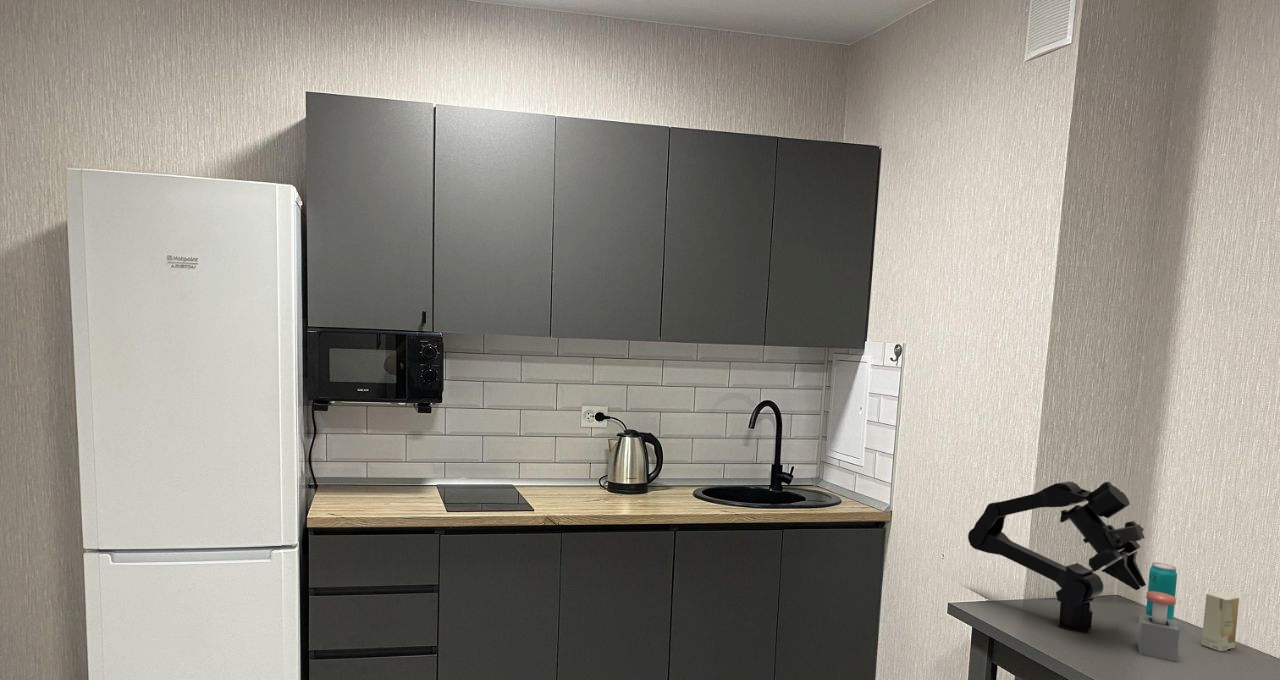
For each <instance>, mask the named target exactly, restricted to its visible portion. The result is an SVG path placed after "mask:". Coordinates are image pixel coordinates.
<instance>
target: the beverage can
mask: <svg viewBox="0 0 1280 680" xmlns="http://www.w3.org/2000/svg"><path fill="white" fill-rule="evenodd" d="M1177 579H1178V573H1177V567H1176V566H1174V565H1173V564H1172V565H1171V564H1168V563H1162V562H1151V566H1150V568H1149V572H1148V583H1147V585H1148V586H1147V592H1148V591H1156V592H1162V593H1166V594H1169V595H1172V596H1174V597H1175V598H1176V593H1177V592H1176V589H1177V583H1178V582H1177V581H1178V580H1177ZM1145 605H1146V607H1145V615H1149V616H1152V610H1153V602H1152V601H1150V600H1148V599H1147V598H1146V604H1145ZM1174 615H1175V605H1168V610H1167V619H1169V620H1174Z"/></svg>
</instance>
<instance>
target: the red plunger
mask: <svg viewBox="0 0 1280 680" xmlns="http://www.w3.org/2000/svg"><path fill="white" fill-rule="evenodd" d="M1145 599H1146V600H1147V599H1148V600H1150V601H1152V602H1153V610H1152V621H1151V622H1152V623H1157V624H1162V625H1166V621H1167V610H1168V605H1174V606H1175V605H1176V604H1177V598H1176V596H1175V597H1174V596H1172V595H1169V594H1166V593H1162V592H1156V591H1148V590H1147V591H1146V595H1145Z"/></svg>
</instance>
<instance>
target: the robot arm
mask: <svg viewBox="0 0 1280 680" xmlns="http://www.w3.org/2000/svg"><path fill="white" fill-rule="evenodd" d="M1085 502H1087V503H1085ZM1080 503H1085V504H1084V505H1080ZM1129 505H1130V500H1129V499H1128V496H1127V495H1126V493H1124V492H1123V491H1121V490H1120V489H1119V488H1118V487H1116V486H1114V485H1112V483H1111V482H1110V481H1105V482H1103V483H1102V484H1100V485H1099V486H1098V488H1095V489H1094V490H1093V491H1090V490H1087V489H1085V488H1084V489H1083V488H1081V486H1080V485H1078V484H1077V483H1076V482H1074V481H1061V482H1057V483H1054V484H1051V485H1049V486H1047V487H1045V488H1043V489H1041V490H1039V491H1037V492H1035V493H1032V494H1027V495H1024V496H1019V497H1014V498H1011V499H1007V500H1003V501H996V502H990V503H988V505H987V506H986V508H985V509H984V511H983V513H982V514H981V516H980V517H979V518H978V519H977V521H976V522H975V523H974V527H973V528H972V529H970V530H969V532H968V535H967V539H968V543H969V546H971V548H972V549H975V550H977V551H980V552H984V553H987V554H994V555H998V556H1002V557H1004V558H1006V559H1008V560H1010V561H1012V562H1014V563H1017V564H1019V565H1020V566H1023V567H1024V568H1027V569H1029V570H1031V571H1033V572H1034V573H1036V574H1039V575H1041V576H1043V577H1045V578H1048V579H1049V580H1051V581H1053V582H1054V583H1056V585H1058V586H1059V588H1060V589H1059V590H1057V591H1056V592H1055V594H1056V595H1055V596H1056V599H1057V601H1058V602H1059V612H1058V613H1059V614H1058V618H1057V619H1058V620H1057V627H1059V628H1062V629H1063V628H1064V629H1067V630H1072V631H1077V632H1082V633H1085V634H1086V633H1087V634H1089V633H1090V629H1092V624H1093V623H1092V622H1093V609H1092V608H1091V602H1093V601H1094V599H1095V597H1097V596H1100V595H1101V594H1102V593H1103V591H1104V583H1103V581H1102V578H1101V576H1099V575H1098V574H1097V573H1095V572H1097V571H1099V570H1100V569H1101V572H1102V573H1105V574H1107V575H1109V576H1111V577H1112V578H1114V579H1117V580H1118V581H1120V582H1121V583H1123V584H1125V585H1126V586H1128V587H1130V588H1131V589H1133V590H1135V591H1138V590H1140V589H1141V588H1143V587H1145V586H1147V584H1146V581H1145V579H1144V577H1143V574H1142V573H1141V571H1140V569H1139V566H1138V563H1137V561H1136V560H1137V555H1138V551H1137V550H1139V549H1141V545H1140V544H1139V542H1138V541H1141V540H1142V539H1145V538H1146V537H1145V534H1144V530H1145V529H1144V527H1142V526H1141V525H1140V524H1138V523H1136V521H1134V520H1132V521H1131V520H1130V521H1126V522H1125V523H1124V527H1120V528H1116V529H1115V527H1114V526H1113V525H1111V524H1106V523H1105V522H1104V520H1103V519H1102V518H1103V517H1104V518H1106V519H1110V518H1111V517H1113V516H1114V515H1116V514H1117V513H1119V512H1121V511H1123V510H1124V509H1125V508H1126V507H1127V508H1128V507H1129ZM1069 506H1073V507H1072V508H1070V509H1068V510H1067V509H1062V510H1061V511H1060V514H1061V515H1060V519H1059V521H1060V523H1064V522H1067V521H1070V522H1071V523H1072V524H1073V525H1074V526H1075V528H1076V529H1077V530H1078V532H1079V533H1080V534H1081V535H1082V536H1083V539H1082V541H1083V542H1084V544H1089V546H1091V547H1092V549H1093V550H1094V551H1095V555H1094V556H1091V557H1090V558H1089V559H1088V567H1089V568H1090V569H1089V568H1088V567H1085V566H1083V565H1082V564H1080V563H1078V562H1076V563H1073V564H1068V565H1063V564H1061V563H1060V562H1057V561H1055V560H1052V559H1051V558H1048V557H1046V556H1044V555H1042V554H1040V553H1038V552H1035V551H1033V550H1031V549H1029V548H1027V547H1025V546H1022V545H1021V544H1018V543H1017V542H1014V541H1012V540H1011V539H1010V538H1009V537H1008V536H1007V535H1006V534H1005V533H1004V532H1003V529H1004V526H1005V519H1006V517H1007V516H1009V515H1013V514H1018V513H1021V512H1026V511H1031V510H1035V509H1040V508H1064V507H1069ZM1101 517H1102V518H1101ZM1103 567H1105V568H1103ZM1102 568H1103V569H1102Z"/></svg>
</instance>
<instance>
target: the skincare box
mask: <svg viewBox="0 0 1280 680" xmlns="http://www.w3.org/2000/svg"><path fill="white" fill-rule="evenodd" d="M1204 603H1205V606H1204V613H1203V614H1204V615H1203V624H1202V632H1201V633H1202V635H1201V641H1200V642H1201V645H1202V646H1205V647H1207V648H1210V649H1212V650H1215V651H1218V652H1226V651H1229V650H1228V649H1231V648H1233V647H1234V648H1235V645H1236V635H1237V634H1236V633H1237V626H1238V613H1239V604H1240V597H1238V596H1234V595H1232V594H1229V593H1225V592H1222V591H1218V592H1210V593H1206V594H1205V602H1204ZM1231 650H1232V649H1231Z"/></svg>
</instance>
